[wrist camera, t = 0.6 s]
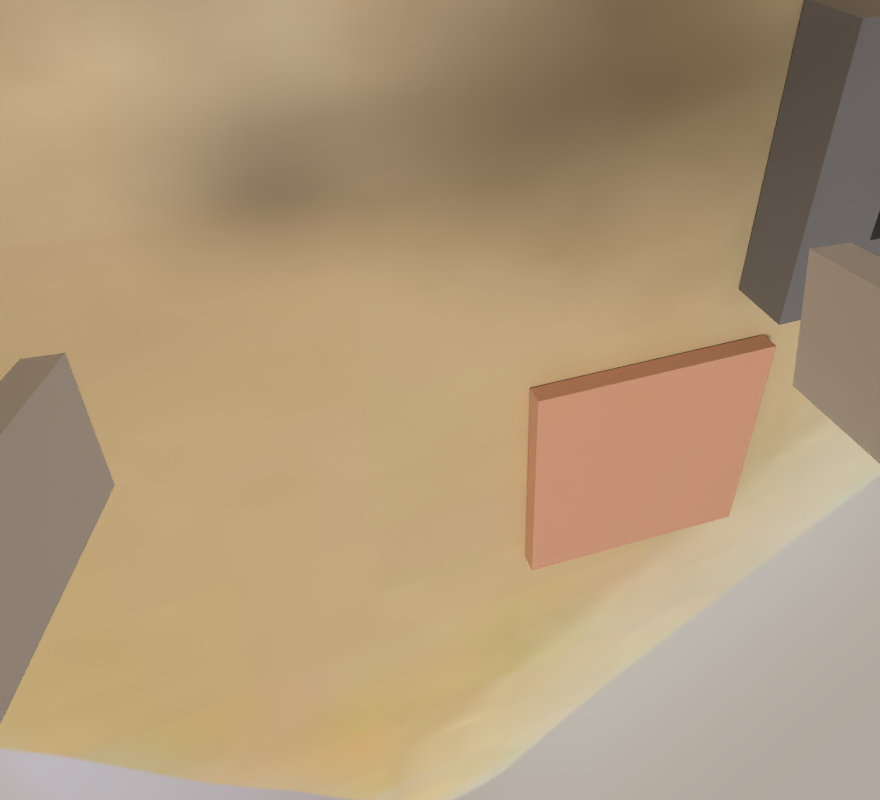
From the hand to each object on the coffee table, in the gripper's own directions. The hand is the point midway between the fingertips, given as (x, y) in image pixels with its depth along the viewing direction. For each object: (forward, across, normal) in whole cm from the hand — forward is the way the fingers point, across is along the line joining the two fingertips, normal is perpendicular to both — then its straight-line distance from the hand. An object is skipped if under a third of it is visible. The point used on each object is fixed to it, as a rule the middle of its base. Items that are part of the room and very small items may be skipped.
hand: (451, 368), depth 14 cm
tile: (+20, +10, -16) cm, 28 cm away
